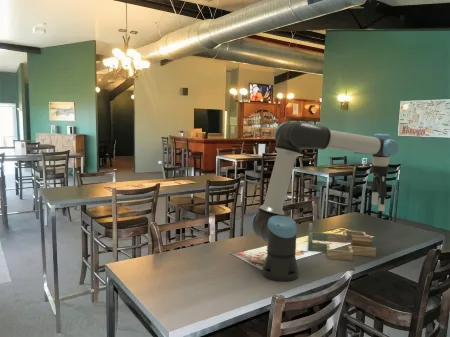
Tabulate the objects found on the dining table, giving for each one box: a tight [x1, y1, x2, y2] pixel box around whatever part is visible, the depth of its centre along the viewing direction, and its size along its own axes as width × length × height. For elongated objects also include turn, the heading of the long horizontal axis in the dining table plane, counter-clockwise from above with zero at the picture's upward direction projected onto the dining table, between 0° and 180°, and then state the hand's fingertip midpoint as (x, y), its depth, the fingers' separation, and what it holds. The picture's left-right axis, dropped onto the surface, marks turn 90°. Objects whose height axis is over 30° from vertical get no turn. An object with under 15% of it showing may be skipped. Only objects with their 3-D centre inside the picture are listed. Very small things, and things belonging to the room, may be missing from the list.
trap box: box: [307, 222, 377, 262], centre depth 183 cm, size 36×32×9 cm
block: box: [350, 235, 373, 248], centre depth 181 cm, size 9×9×6 cm
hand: (377, 207), depth 178 cm, fingers open, 13 cm apart
